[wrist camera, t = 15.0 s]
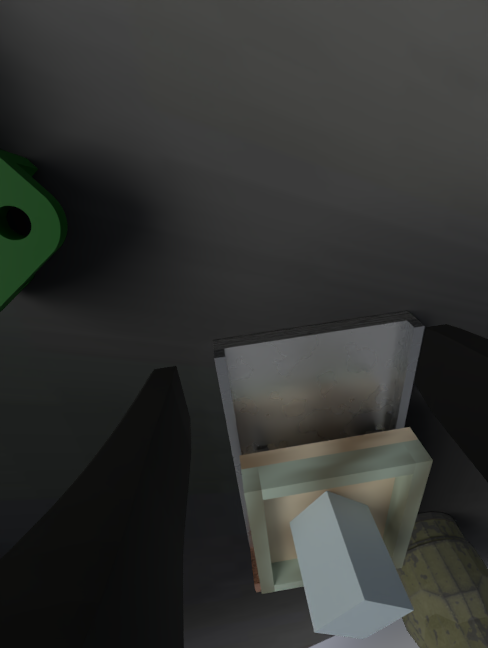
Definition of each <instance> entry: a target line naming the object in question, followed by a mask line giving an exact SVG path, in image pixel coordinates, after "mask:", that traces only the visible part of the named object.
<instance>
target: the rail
mask: <svg viewBox="0 0 488 648" xmlns="http://www.w3.org/2000/svg"><path fill="white" fill-rule="evenodd" d="M424 327H425V326H424V325H423V324H422V323H421V322H420V321H419V320H417V319H416V318H415V317H414V316H413V315H412V314H411V313H410V312H408V311H404V312H398V313H391V314H385V315H378V316H371V317H365V318H358V319H352V320H345V321H338V322H332V323H325V324H319V325H312V326H305V327H299V328H292V329H286V330H279V331H273V332H266V333H259V334H253V335H246V336H240V337H233V338H226V339H220V340H213V345H214V359H215V364H216V370H217V375H218V380H219V386H220V391H221V396H222V402H223V407H224V412H225V417H226V423H227V428H228V433H229V439H230V444H231V449H232V455H233V460H234V465H235V470H236V476H237V481H238V486H239V492H240V497H241V502H242V508H243V513H244V518H245V523H246V529H247V534H248V539H249V545H250V551H251V559H252V568H253V576H254V584H255V589H256V592H260V591H261V586H260V580H259V575H258V569H257V563H256V558H255V552H254V546H253V541H252V535H251V530H250V524H249V518H248V513H247V507H246V501H245V496H244V489H243V481H242V472H241V464H240V456H239V455H245V454H251V453H254V450H259V449H265V448H269V450H275V449H281V448H287V447H293V446H299V445H305V444H311V443H317V442H323V441H329V440H335V439H341V438H347V437H353V436H359V435H364V432H367V431H373V430H379V429H380V430H382V431H389V430H395V429H400V428H404V425H405V420H406V416H407V411H408V406H409V401H410V396H411V391H412V386H413V381H414V376H415V371H416V367H417V362H418V357H419V352H420V347H421V342H422V337H423V332H424Z"/></svg>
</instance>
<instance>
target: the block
mask: <svg viewBox="0 0 488 648" xmlns="http://www.w3.org/2000/svg"><path fill="white" fill-rule="evenodd" d="M289 523H290V527H291V532H292V536H293V541H294V545H295V549H296V554H297V558H298V563H299V567H300V571H301V576H302V580H303V585H304V589H305V593H306V598H307V602H308V607H309V611H310V615H311V620H312V624H313V629H314V632H316V633H323V634H330V635H337V636H344V637H352V638H359V639H365V638H367V637H368V636H370V635H372V634H374V633H375V632H377V631H379V630H381V629H382V628H384V627H386V626H388V625H389V624H391V623H393V622H395V621H396V620H398V619H400V618H402V617H403V616H405V615H407V614H408V613H410V612H412V611H414V609H413V606H412V604H411V602H410V600H409V597H408V595H407V593H406V591H405V588H404V586H403V584H402V582H401V579H400V577H399V575H398V573H397V570H396V568H395V566H394V564H393V561H392V559H391V557H390V555H389V552H388V550H387V548H386V546H385V543H384V541H383V539H382V537H381V534H380V532H379V530H378V528H377V525H376V523H375V521H374V519H373V516H372V514H371V512H370V509H369V507H368V505H365V504H363V503H360V502H357V501H354V500H351V499H349V498H346V497H343V496H340V495H337V494H335V493H332V492H329V491H325V492H324V493H323V494H322V495H321V496H320V497H318V498H317V499H316V500H315V501H314V502H313V503H312V504H310V505H309V506H308V507H307V508H306V509H305V510H303V511H302V512H301V513H300V514H299V515H298V516H296V517H295V518H294V519H293V520H292V521H291V522H289Z"/></svg>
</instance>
